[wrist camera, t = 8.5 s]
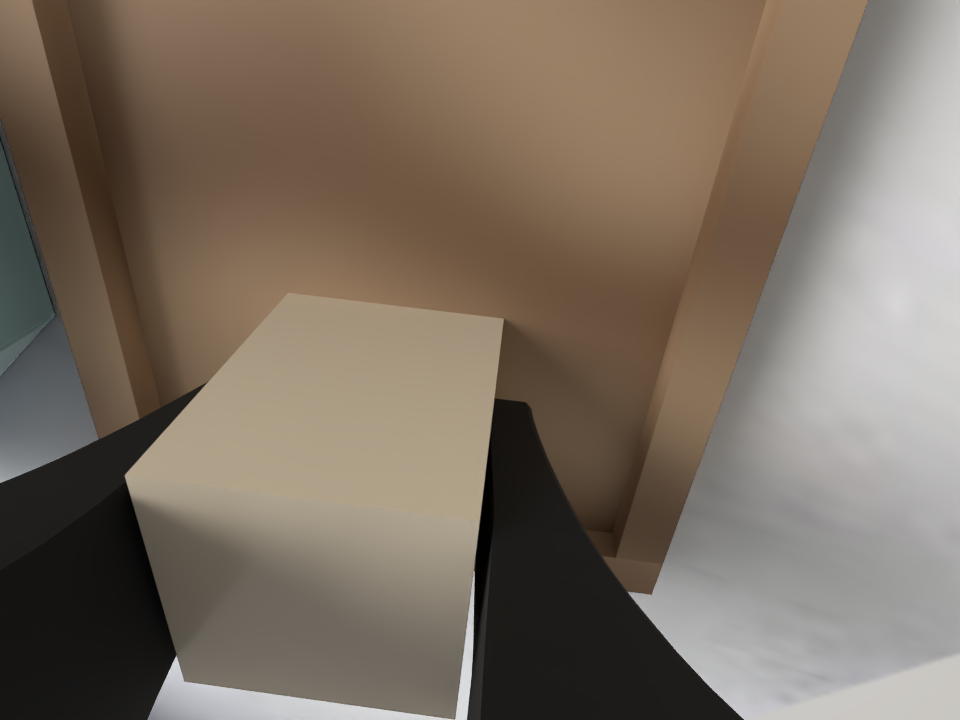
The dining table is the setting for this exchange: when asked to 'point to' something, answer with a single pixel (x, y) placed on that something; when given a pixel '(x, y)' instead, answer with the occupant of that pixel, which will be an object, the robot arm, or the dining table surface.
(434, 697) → the beige block
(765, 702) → the dining table surface
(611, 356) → the tray
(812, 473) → the dining table surface
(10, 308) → the bowl
